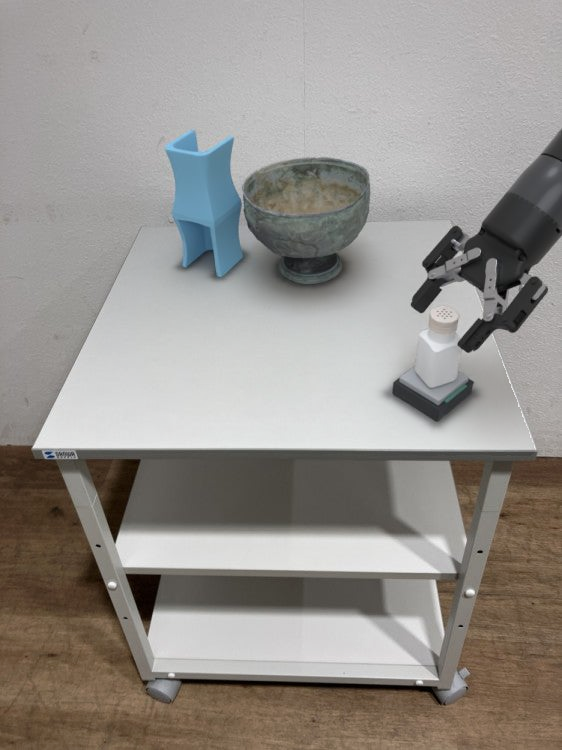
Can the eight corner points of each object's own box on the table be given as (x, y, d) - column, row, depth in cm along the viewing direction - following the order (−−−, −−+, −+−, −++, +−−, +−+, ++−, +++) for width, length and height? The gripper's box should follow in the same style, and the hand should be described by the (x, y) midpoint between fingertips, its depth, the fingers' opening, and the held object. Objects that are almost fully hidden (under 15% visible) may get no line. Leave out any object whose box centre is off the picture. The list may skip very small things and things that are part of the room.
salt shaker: (429, 391, 74) (438, 328, 68) (412, 370, 77) (419, 308, 71) (458, 381, 75) (469, 319, 69) (440, 362, 78) (450, 300, 72)
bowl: (271, 231, 111) (265, 148, 101) (378, 244, 105) (383, 158, 95) (229, 292, 97) (217, 203, 87) (349, 311, 92) (352, 219, 82)
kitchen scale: (471, 393, 78) (475, 376, 76) (437, 421, 74) (439, 405, 73) (426, 367, 82) (429, 351, 80) (392, 393, 78) (393, 377, 77)
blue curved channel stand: (246, 254, 105) (234, 136, 92) (221, 277, 100) (204, 156, 87) (208, 244, 108) (191, 129, 95) (182, 266, 103) (160, 148, 90)
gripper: (476, 169, 69) (384, 286, 73) (576, 221, 59) (464, 353, 63) (504, 201, 74) (417, 309, 78) (600, 254, 65) (495, 374, 69)
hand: (438, 328), depth 71 cm, fingers open, 8 cm apart
